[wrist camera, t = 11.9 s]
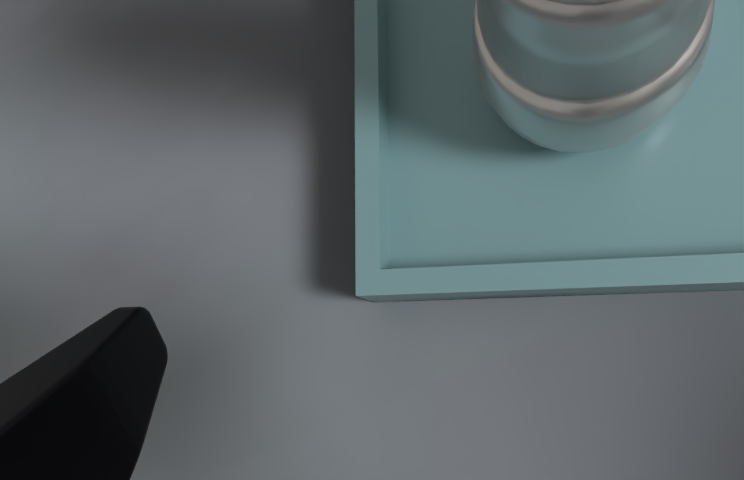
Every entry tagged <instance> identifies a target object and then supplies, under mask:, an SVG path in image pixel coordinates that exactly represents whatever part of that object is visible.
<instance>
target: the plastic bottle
mask: <svg viewBox="0 0 744 480" xmlns="http://www.w3.org/2000/svg"><path fill="white" fill-rule="evenodd" d="M714 6H715V0H476V1H475V7H474V13H473V19H472V62H473V67H474V71H475V75H476V79H477V82H478V84H479V86H480V88H481V90H482V92H483V94H484V96H485V98H486V100H487V102H488V103H489V104H490V105H491V106H492V108H493V109H494V110H495V111H496V112H497V114H498V115H499V116H500V117H501V118H502V120H503V121H504V122H505V123H506V124H507V125H508V127H510V128H511V129H512V130H513V131H515V132H516V133H517V134H519V135H520V136H521V137H522V138H524V139H526V140H528V141H530V142H532V143H534V144H536V145H538V146H540V147H544V148H548V149H552V150H556V151H560V152H575V153H584V152H592V151H600V150H604V149H608V148H611V147H614V146H617V145H620V144H623V143H625V142H627V141H629V140H631V139H633V138H635V137H637V136H639V135H641V134H642V133H644V132H645V131H646V130H647V129H649V128H650V127H651V126H653V125H654V124H655V123H657V122H658V121H659V120H660V119H661V118H662V117H664V116H665V115H666V114H667V113H668V112H669V111H670V110H671V109H672V108H673V107H674V106H675V105H676V104H677V103H678V102H679V100H680V99H681V98H682V97H683V96H684V95H685V94H686V93H687V91H688V90H689V89H690V87H691V85H692V84H693V82H694V80H695V78H696V77H697V75H698V73H699V72H700V70H701V67H702V65H703V62H704V59H705V56H706V53H707V50H708V47H709V41H710V35H711V29H712V23H713V14H714Z"/></svg>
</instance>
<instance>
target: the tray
mask: <svg viewBox="0 0 744 480" xmlns="http://www.w3.org/2000/svg"><path fill="white" fill-rule="evenodd" d="M475 1H476V0H354V45H355V277H356V296H357V297H360V298H363V299H366V300H369V301H372V302H395V301H425V300H455V299H485V298H515V297H545V296H575V295H605V294H635V293H665V292H695V291H725V290H744V0H715V6H714V14H713V23H712V29H711V35H710V41H709V47H708V50H707V53H706V56H705V59H704V62H703V65H702V67H701V70H700V72H699V73H698V75H697V77H696V78H695V80H694V82H693V84H692V85H691V87H690V89H689V90H688V91H687V93H686V94H685V95H684V96H683V97H682V98H681V99H680V100H679V102H678V103H677V104H676V105H675V106H674V107H673V108H672V109H671V110H670V111H669V112H668V113H667V114H666V115H665V116H664V117H662V118H661V119H660V120H659V121H658V122H657V123H655V124H654V125H653V126H651V127H650V128H649V129H647V130H646V131H645V132H644V133H642V134H641V135H639V136H637V137H635V138H633V139H631V140H629V141H627V142H625V143H623V144H620V145H617V146H614V147H611V148H608V149H604V150H600V151H592V152H584V153H575V152H560V151H556V150H552V149H548V148H544V147H540V146H538V145H536V144H534V143H532V142H530V141H528V140H526V139H524V138H522V137H521V136H520V135H519V134H517V133H516V132H515V131H513V130H512V129H511V128H510V127H508V125H507V124H506V123H505V122H504V121H503V120H502V118H501V117H500V116H499V115H498V114H497V112H496V111H495V110H494V109H493V108H492V106H491V105H490V104H489V103H488V102H487V100H486V98H485V96H484V94H483V92H482V90H481V88H480V86H479V84H478V82H477V79H476V75H475V71H474V67H473V62H472V19H473V13H474V7H475Z"/></svg>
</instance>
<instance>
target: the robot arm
mask: <svg viewBox="0 0 744 480" xmlns="http://www.w3.org/2000/svg"><path fill="white" fill-rule="evenodd" d="M166 364H167V349H166V345H165V343H164V341H163V339H162V337H161V335H160V333H159V331H158V328H157V326H156V324H155V322H154V320H153V318H152V316H151V314H150V312H149V311H148V310H147V309H145V308H143V307H121V308H117V309H115V310H113V311H112V312H110V313H109V314H107V315H106V316H104V317H103V318H101V319H99V320H98V321H96V322H95V323H93V324H92V325H90V326H89V327H87V328H86V329H84V330H83V331H81V332H79V333H78V334H76V335H75V336H73V337H72V338H70V339H69V340H67V341H66V342H64V343H62V344H61V345H59V346H58V347H56V348H55V349H53V350H52V351H50V352H49V353H47V354H45V355H44V356H42V357H41V358H39V359H38V360H36V361H35V362H33V363H32V364H30V365H29V366H27V367H25V368H24V369H22V370H21V371H19V372H18V373H16V374H15V375H13V376H12V377H10V378H8V379H7V380H5V381H4V382H2V383H1V384H0V480H130V478H131V476H132V473H133V471H134V468H135V466H136V463H137V460H138V458H139V455H140V452H141V449H142V446H143V443H144V440H145V436H146V433H147V430H148V426H149V423H150V419H151V416H152V412H153V409H154V406H155V402H156V399H157V395H158V392H159V388H160V385H161V382H162V378H163V375H164V371H165V368H166Z"/></svg>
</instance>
